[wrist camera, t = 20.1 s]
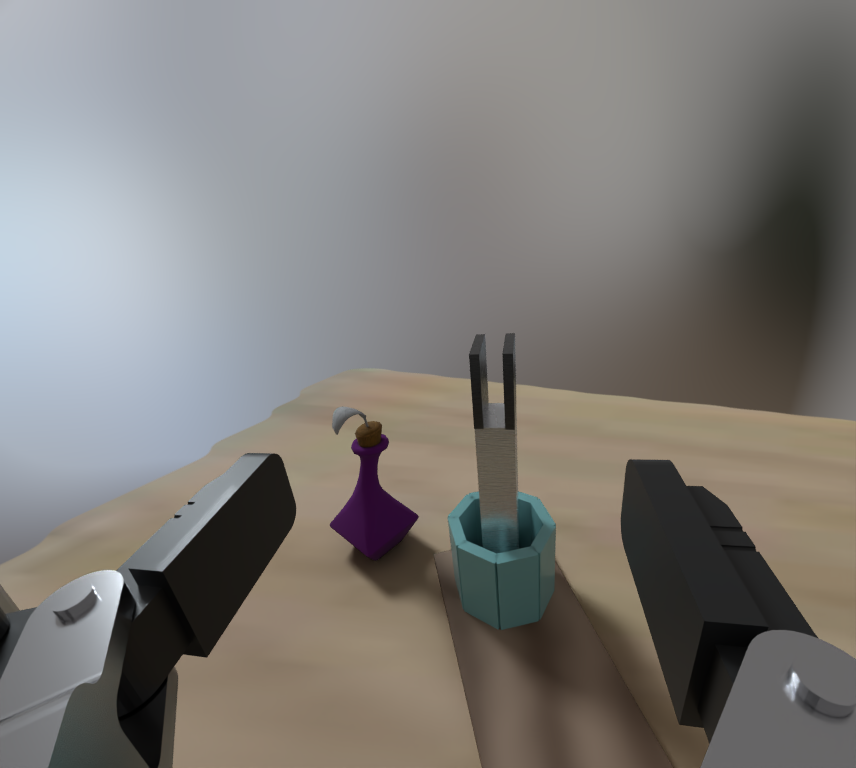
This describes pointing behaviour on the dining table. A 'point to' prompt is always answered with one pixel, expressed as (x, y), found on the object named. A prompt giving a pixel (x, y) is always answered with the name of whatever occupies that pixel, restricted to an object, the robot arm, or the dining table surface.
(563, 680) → the walnut board
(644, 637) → the dining table surface
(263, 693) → the dining table surface
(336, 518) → the perfume bottle
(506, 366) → the grey long forked bar
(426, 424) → the dining table surface
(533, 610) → the crock
